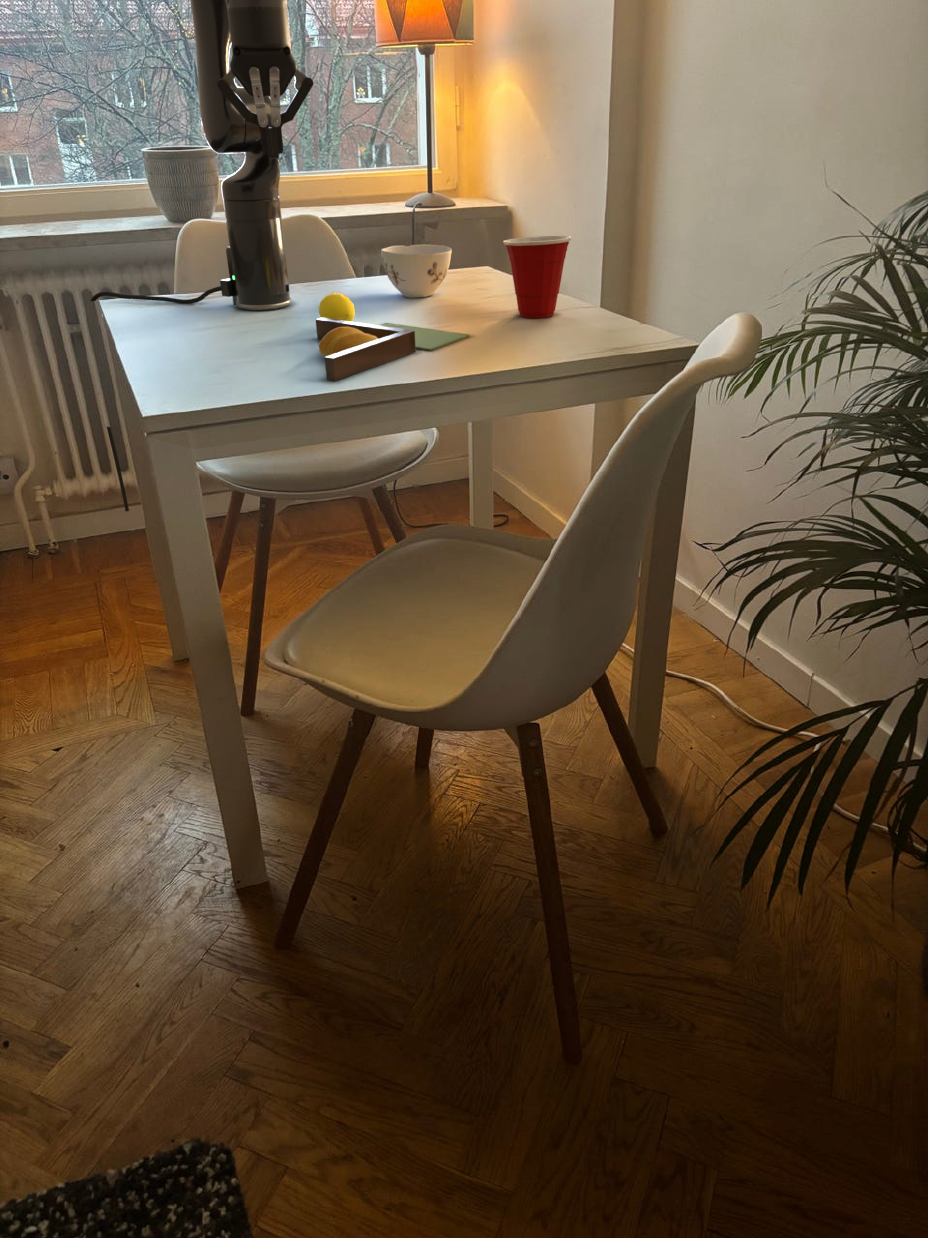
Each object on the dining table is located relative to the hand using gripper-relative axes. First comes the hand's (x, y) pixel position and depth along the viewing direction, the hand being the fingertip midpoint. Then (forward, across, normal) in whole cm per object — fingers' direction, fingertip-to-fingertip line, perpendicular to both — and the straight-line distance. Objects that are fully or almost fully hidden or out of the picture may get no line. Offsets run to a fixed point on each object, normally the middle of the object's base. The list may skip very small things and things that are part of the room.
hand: (273, 158), depth 126 cm
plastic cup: (+25, -40, -10) cm, 48 cm away
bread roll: (+25, -8, +10) cm, 28 cm away
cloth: (+25, -17, 0) cm, 30 cm away
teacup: (+25, -23, -32) cm, 47 cm away
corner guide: (+25, -5, +9) cm, 27 cm away
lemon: (+25, -7, -8) cm, 27 cm away
